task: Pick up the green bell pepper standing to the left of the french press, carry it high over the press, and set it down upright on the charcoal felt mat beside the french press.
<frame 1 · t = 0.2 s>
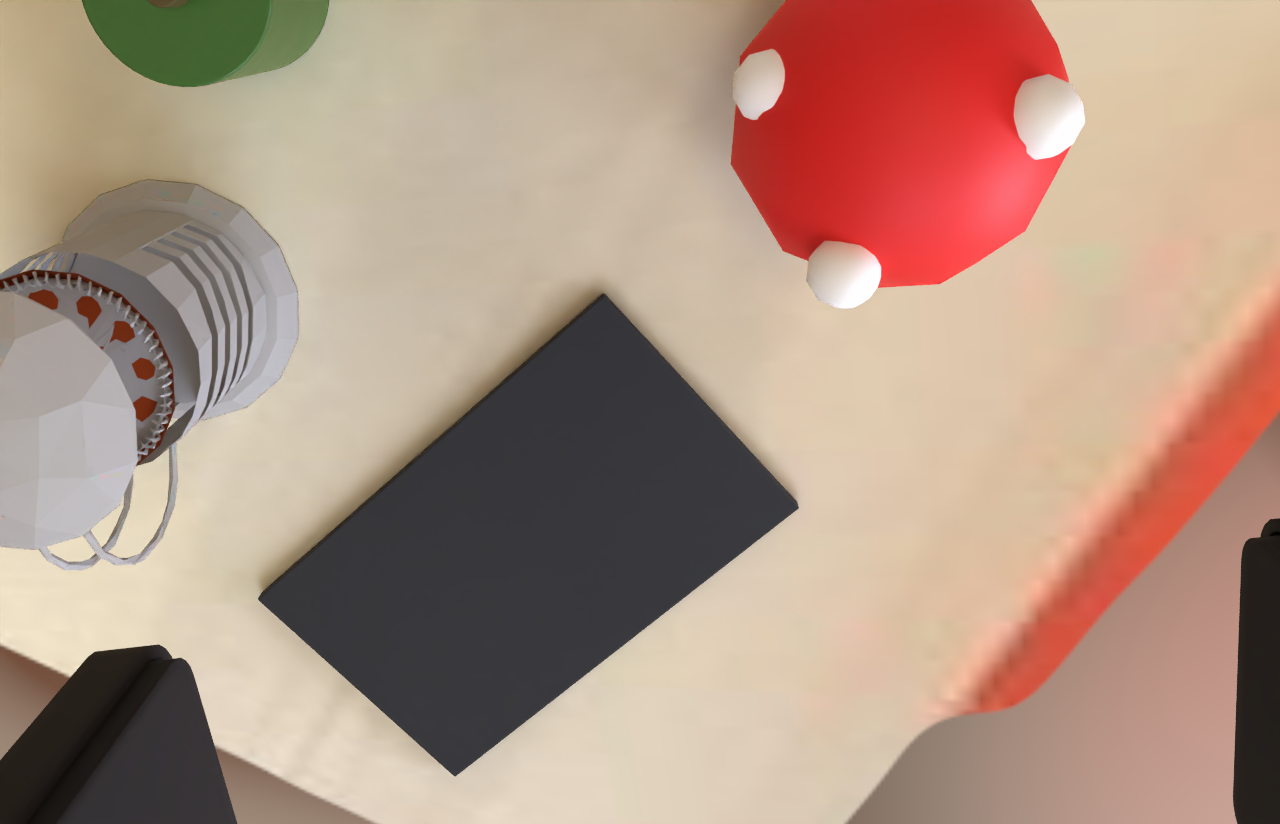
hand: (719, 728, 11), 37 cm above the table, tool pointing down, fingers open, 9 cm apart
mat: (525, 548, 51), on the table
mushroom: (859, 102, 45), on the table
french press: (183, 324, 48), on the table
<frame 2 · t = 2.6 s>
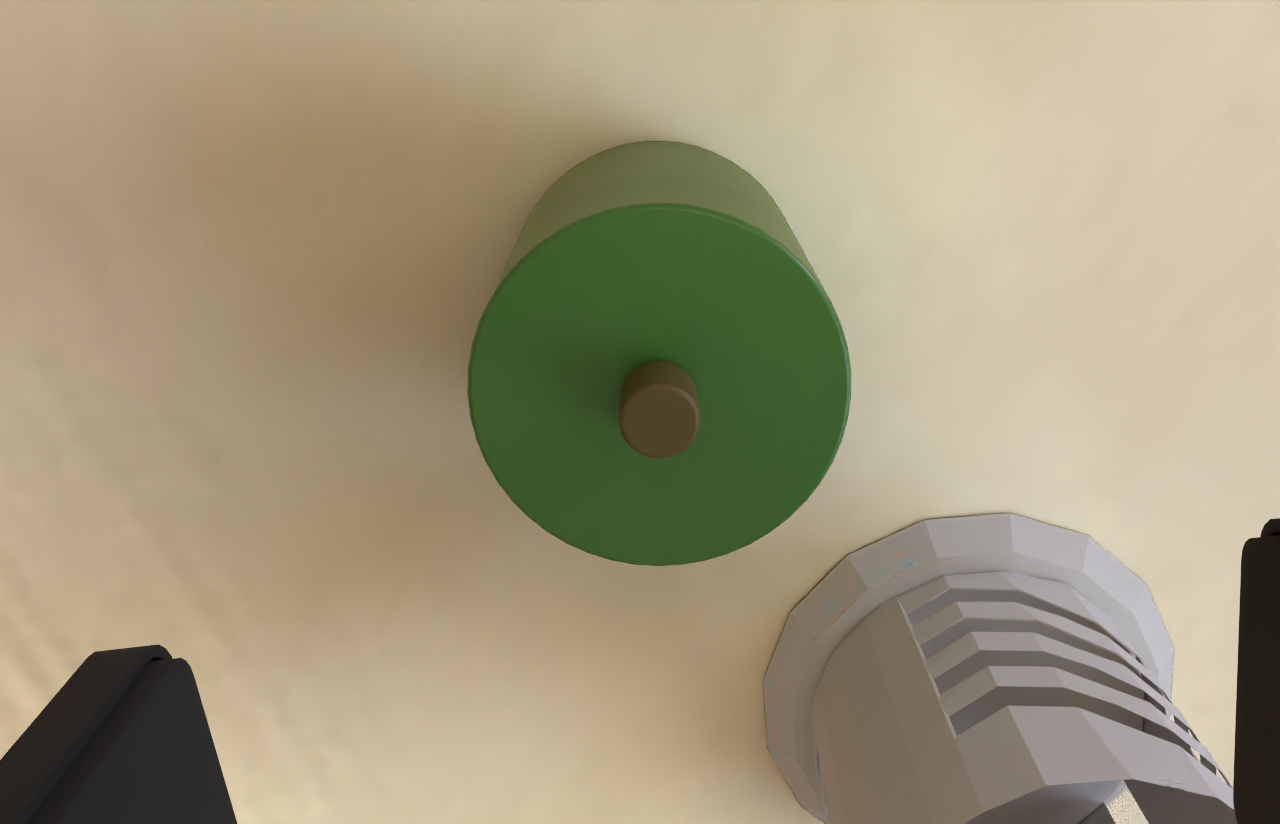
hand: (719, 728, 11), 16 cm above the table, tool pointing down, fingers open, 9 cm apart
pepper: (656, 285, 25), on the table
french press: (996, 710, 29), on the table
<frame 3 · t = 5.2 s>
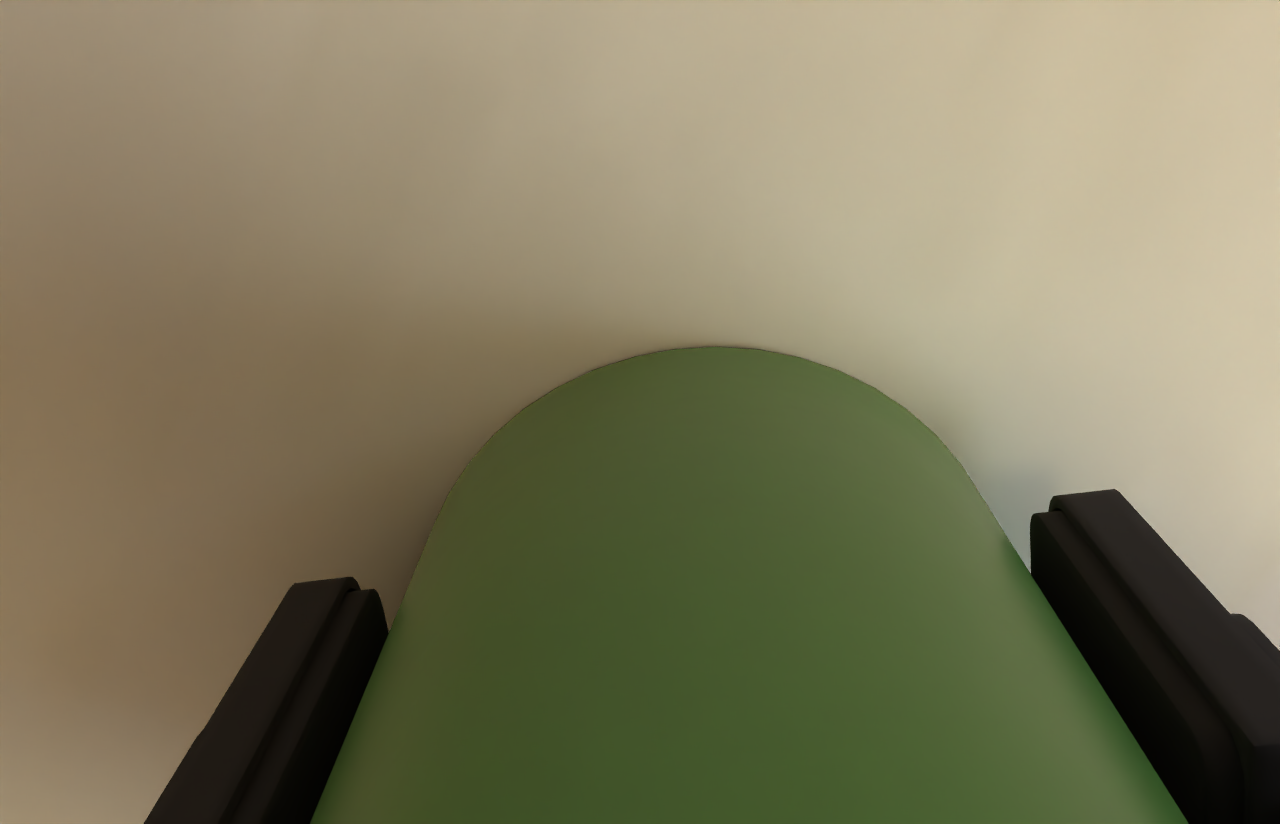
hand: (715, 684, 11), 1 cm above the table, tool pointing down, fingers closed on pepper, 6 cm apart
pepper: (710, 624, 12), on the table, touching gripper
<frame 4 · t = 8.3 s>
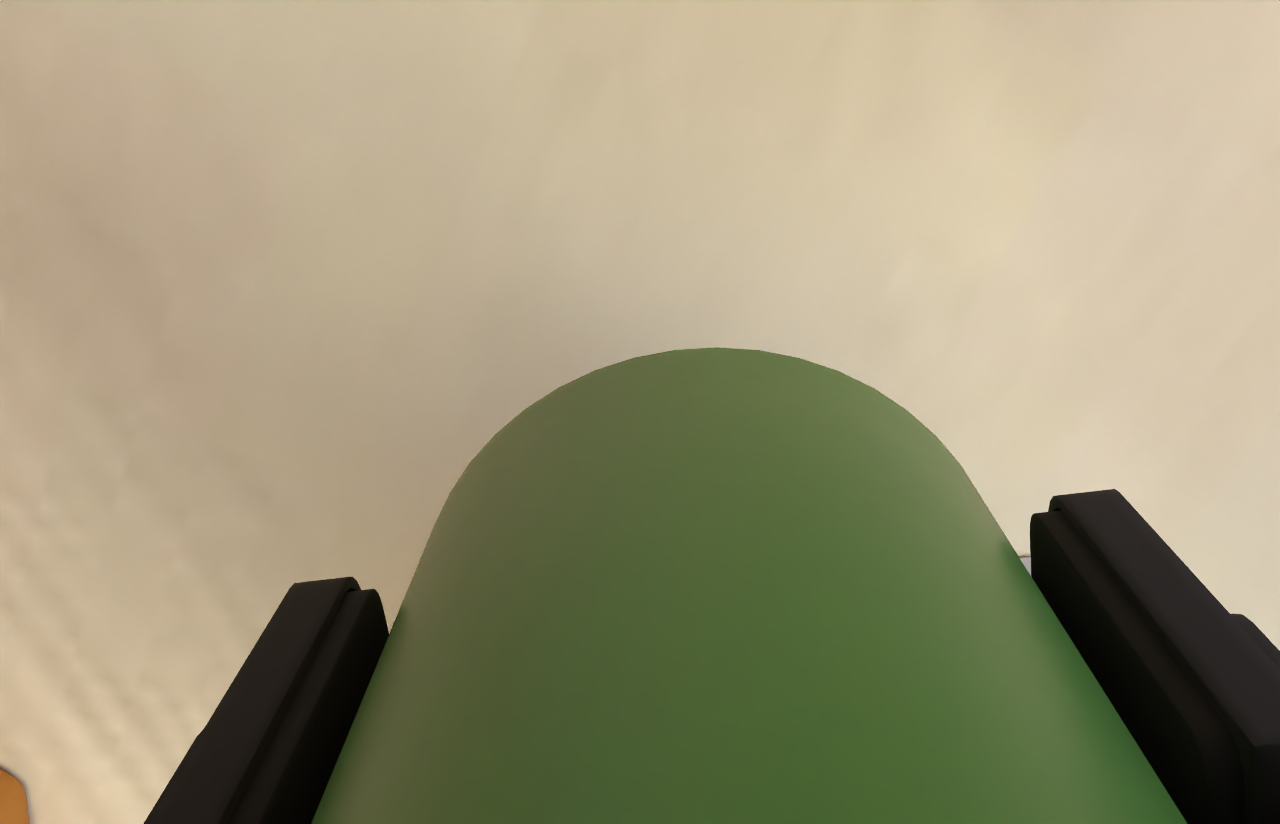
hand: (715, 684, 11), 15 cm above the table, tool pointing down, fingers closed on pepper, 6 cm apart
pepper: (710, 625, 12), point 14 cm above the table, touching gripper
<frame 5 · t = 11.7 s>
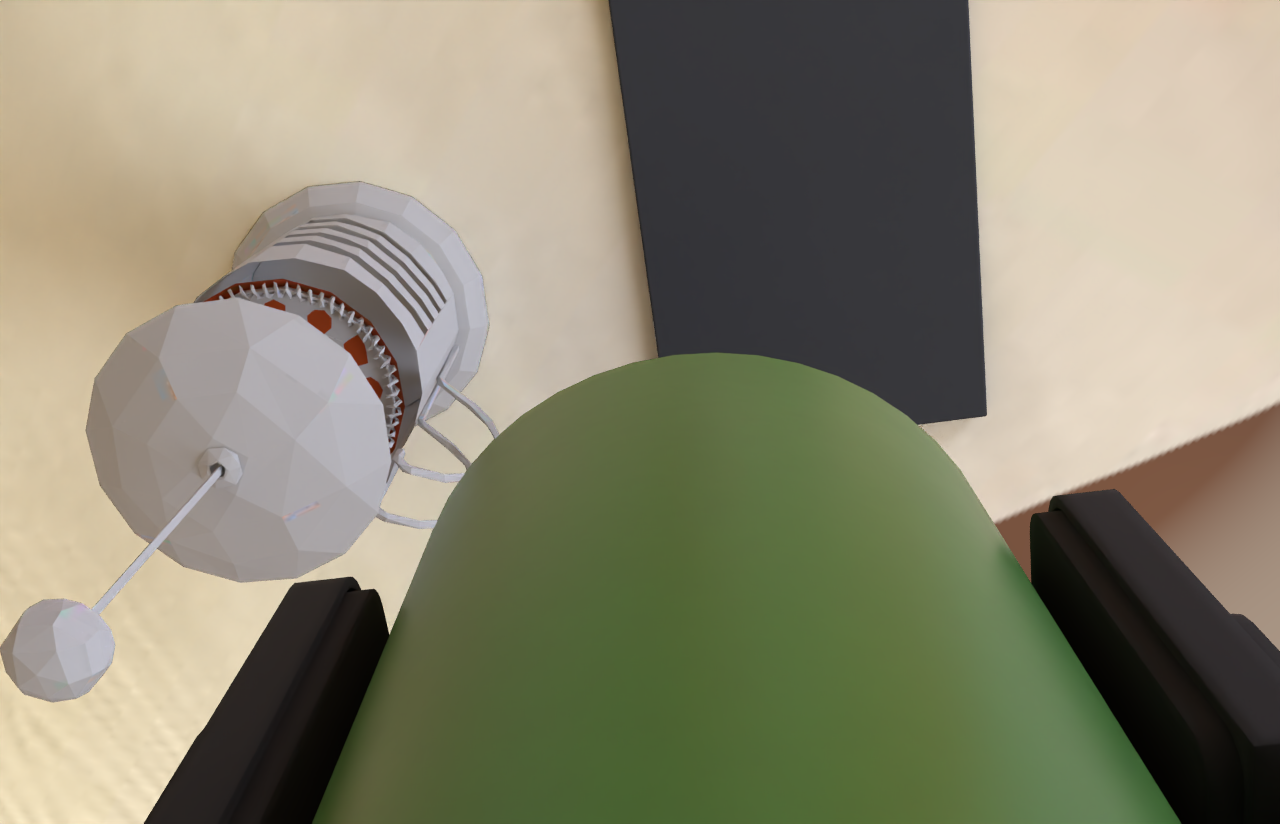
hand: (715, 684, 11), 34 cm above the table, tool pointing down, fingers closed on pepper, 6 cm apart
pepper: (709, 630, 12), point 33 cm above the table, touching gripper
mat: (802, 171, 43), on the table
french press: (381, 322, 45), on the table
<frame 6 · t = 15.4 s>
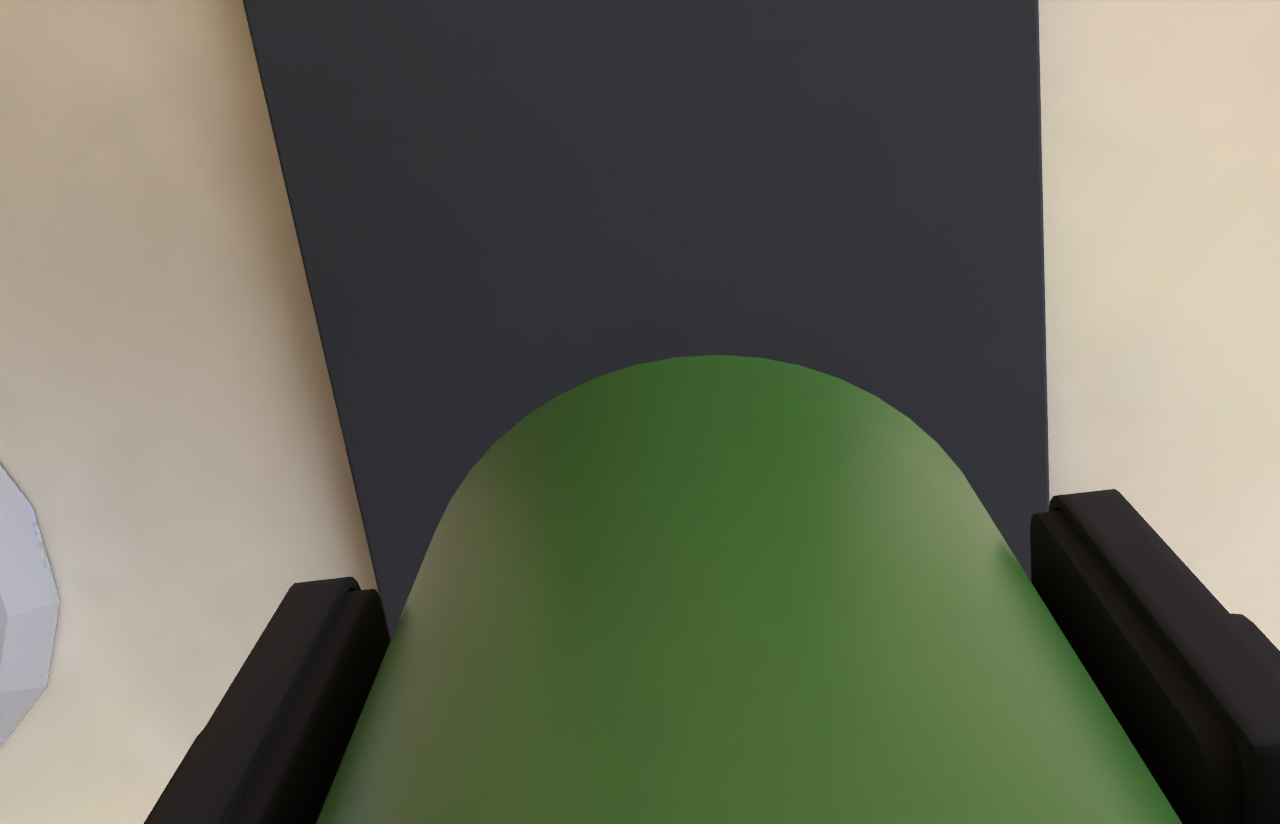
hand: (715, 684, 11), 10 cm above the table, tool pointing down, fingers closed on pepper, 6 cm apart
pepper: (711, 632, 12), point 9 cm above the table, touching gripper
mat: (678, 307, 21), on the table
when the fingers open (2 cm above the table, at t = 18.2 s): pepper stays where it is, resting on mat.
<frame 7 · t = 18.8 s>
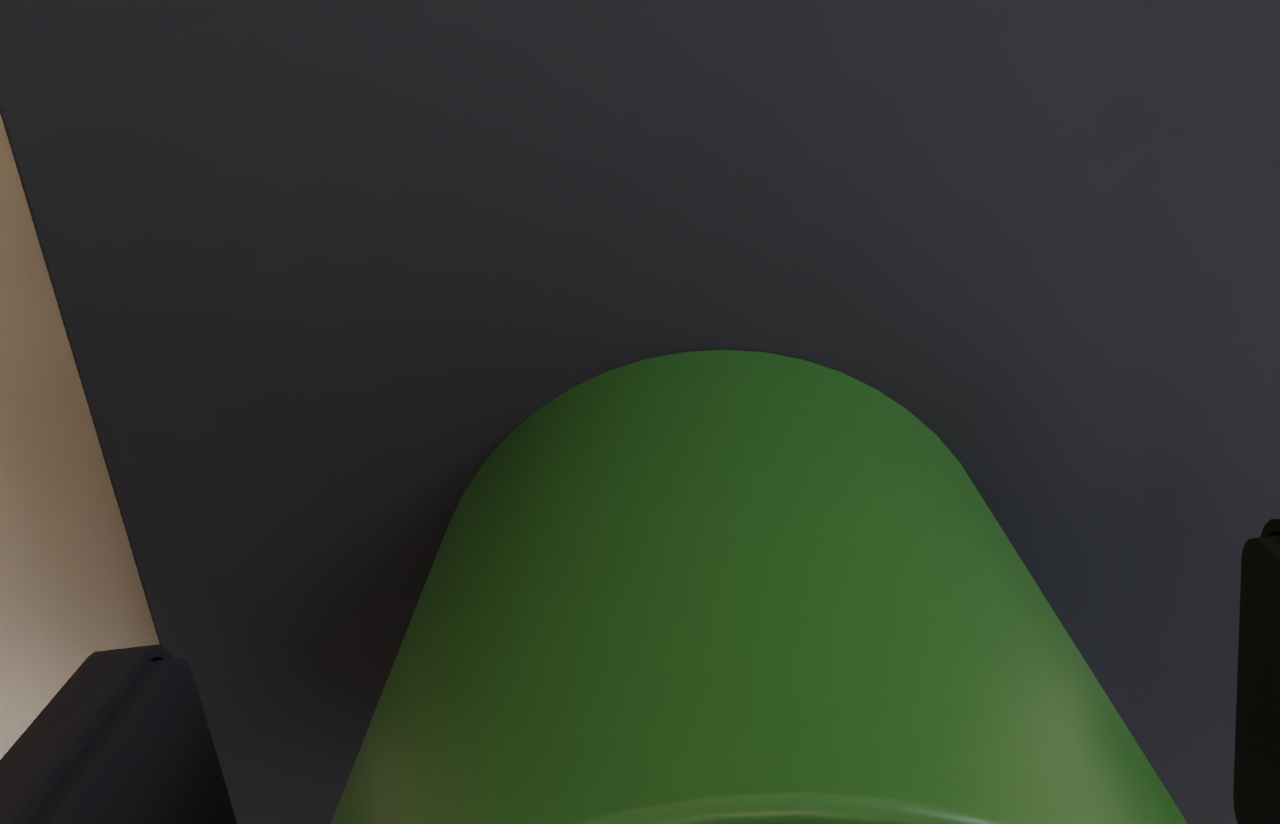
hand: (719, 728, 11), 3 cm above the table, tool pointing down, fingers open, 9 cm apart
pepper: (717, 619, 13), point 1 cm above the table, touching mat
mat: (702, 503, 13), on the table
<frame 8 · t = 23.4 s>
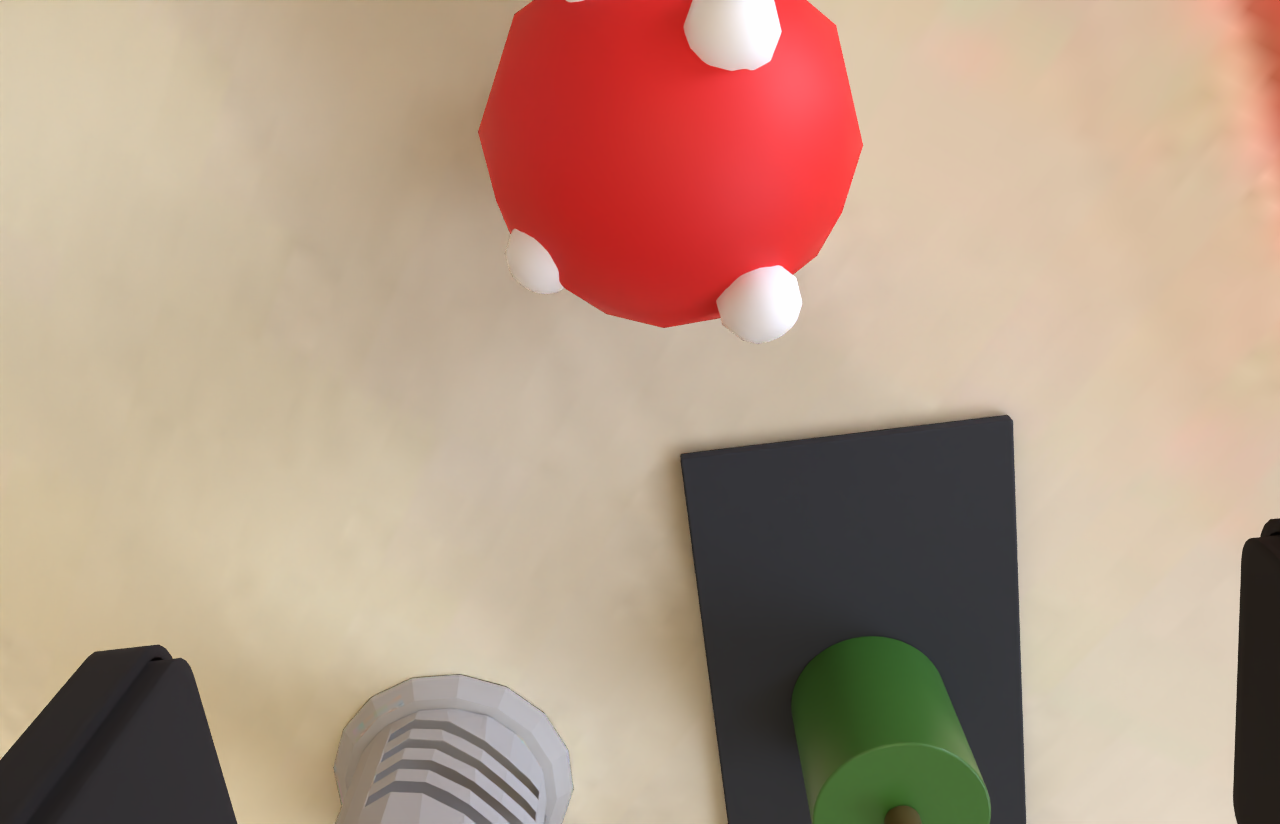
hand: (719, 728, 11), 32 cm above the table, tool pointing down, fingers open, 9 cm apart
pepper: (867, 702, 47), point 1 cm above the table, touching mat
mat: (862, 670, 47), on the table
mushroom: (666, 118, 41), on the table
french press: (474, 784, 50), on the table
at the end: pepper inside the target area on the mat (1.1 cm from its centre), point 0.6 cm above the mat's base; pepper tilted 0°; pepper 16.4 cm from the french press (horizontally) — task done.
